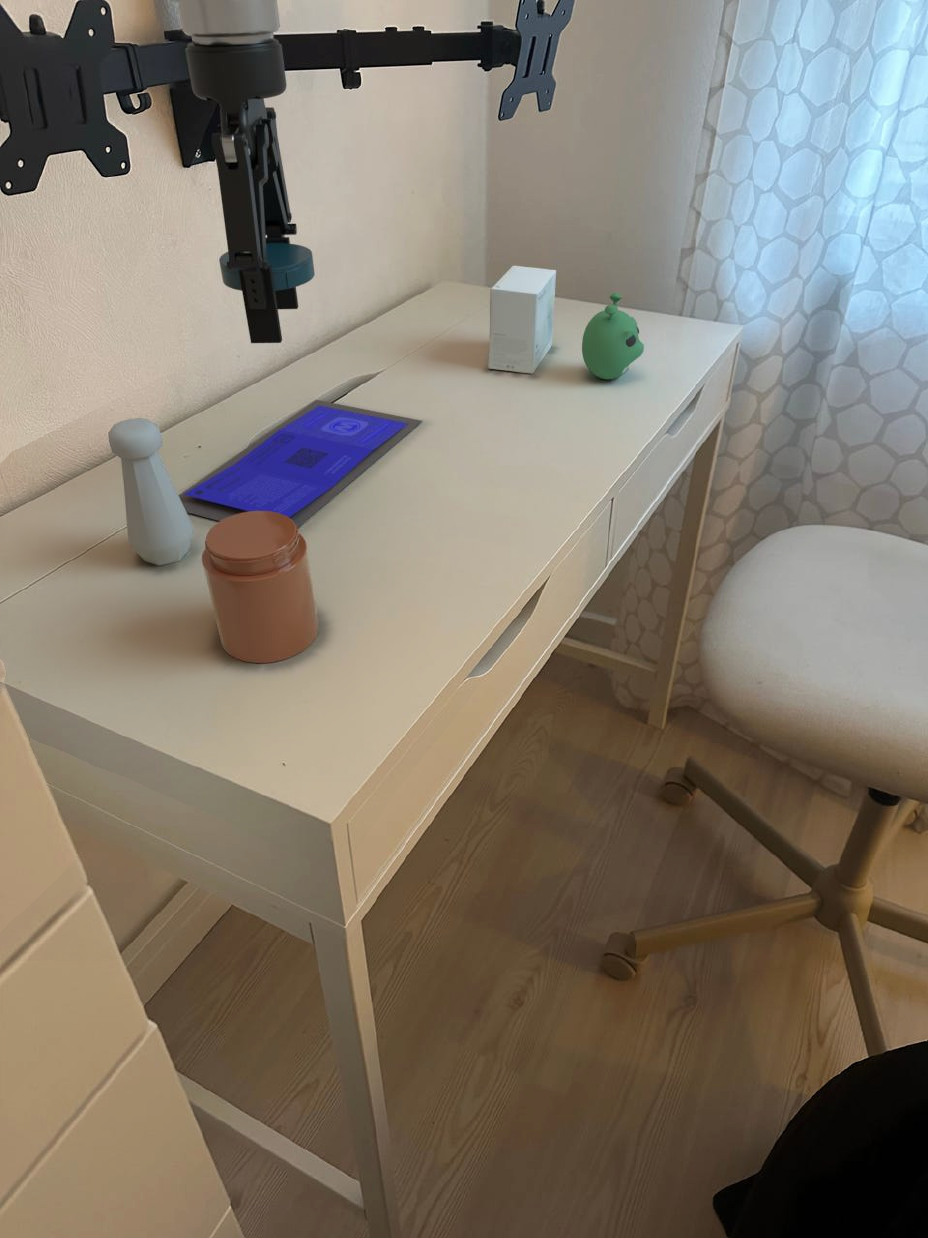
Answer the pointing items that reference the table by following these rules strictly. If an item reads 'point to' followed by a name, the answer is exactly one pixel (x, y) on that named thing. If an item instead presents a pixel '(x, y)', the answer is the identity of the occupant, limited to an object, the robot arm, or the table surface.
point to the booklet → (298, 463)
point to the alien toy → (611, 342)
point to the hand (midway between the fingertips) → (275, 323)
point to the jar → (260, 586)
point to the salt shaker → (150, 494)
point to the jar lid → (277, 266)
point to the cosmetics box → (521, 319)
